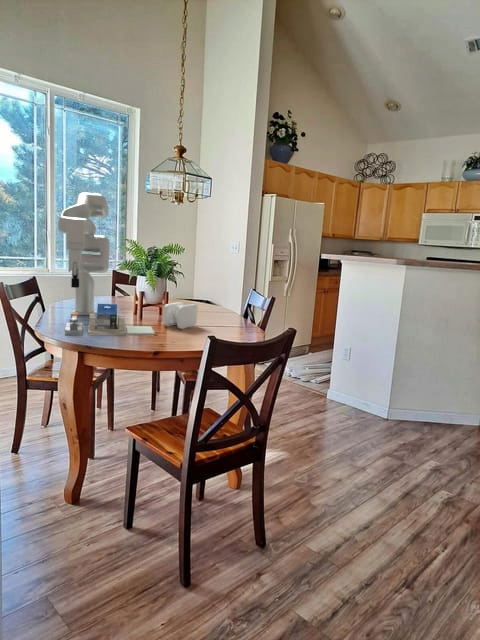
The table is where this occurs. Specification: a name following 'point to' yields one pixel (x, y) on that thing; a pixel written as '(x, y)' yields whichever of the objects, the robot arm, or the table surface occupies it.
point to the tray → (139, 330)
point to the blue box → (107, 316)
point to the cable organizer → (180, 315)
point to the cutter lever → (74, 318)
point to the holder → (94, 331)
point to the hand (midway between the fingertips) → (75, 287)
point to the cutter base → (73, 329)
